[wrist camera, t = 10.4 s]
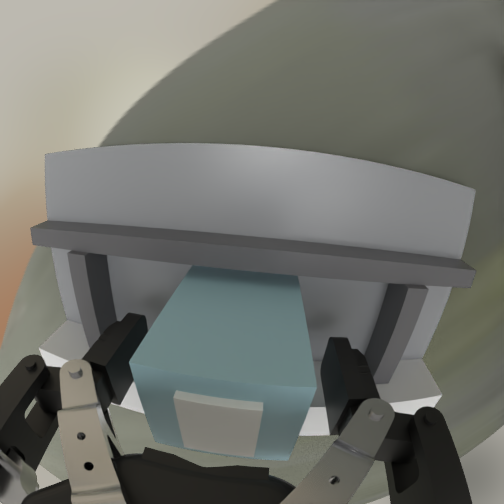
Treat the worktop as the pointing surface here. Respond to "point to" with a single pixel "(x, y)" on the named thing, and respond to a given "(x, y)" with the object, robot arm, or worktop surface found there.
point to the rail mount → (260, 247)
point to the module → (228, 365)
